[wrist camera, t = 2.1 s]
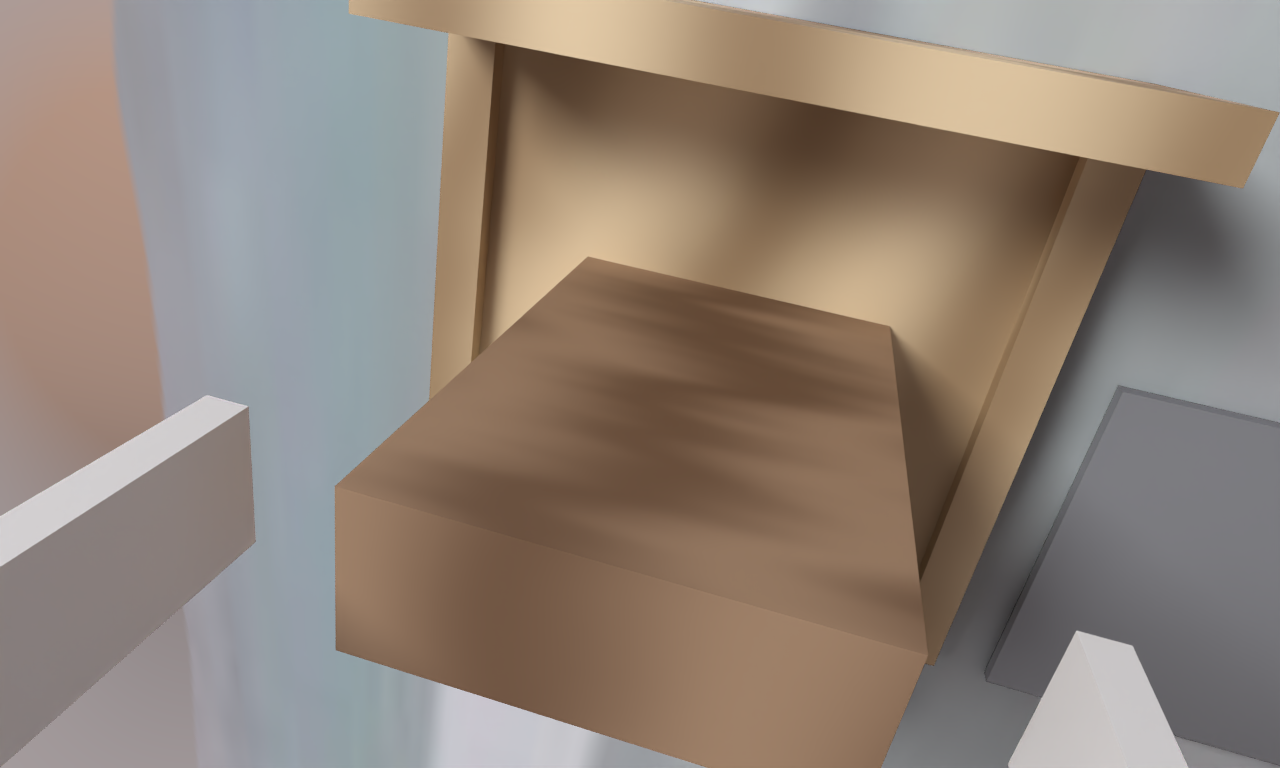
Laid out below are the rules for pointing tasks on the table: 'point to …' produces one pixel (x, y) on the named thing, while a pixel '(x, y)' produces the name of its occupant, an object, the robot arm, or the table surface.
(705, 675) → the walnut board
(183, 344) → the table surface
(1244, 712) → the rubber mat
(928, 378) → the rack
